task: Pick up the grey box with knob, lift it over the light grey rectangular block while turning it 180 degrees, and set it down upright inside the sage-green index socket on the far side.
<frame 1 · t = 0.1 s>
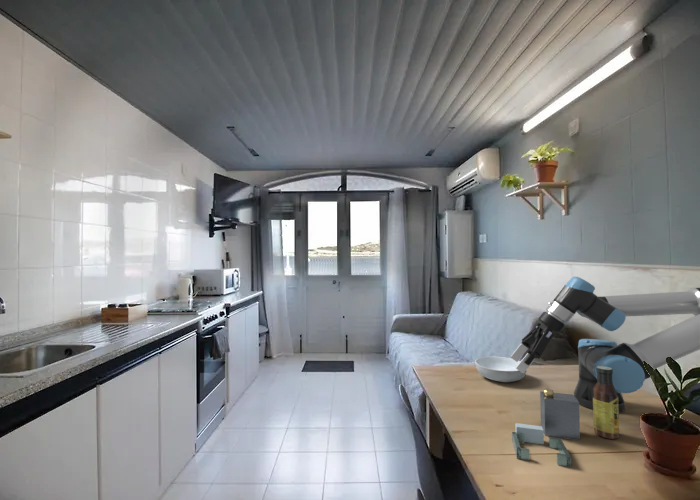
hand: (516, 364, 123), 15 cm above the table, tool tilted 35°, fingers open, 13 cm apart
light grey rectangular block: (529, 440, 101), on the table
serving bowl: (500, 379, 153), on the table
index socket: (539, 452, 95), on the table
sauce bottle: (606, 435, 104), on the table
grey box with knob: (559, 433, 106), on the table
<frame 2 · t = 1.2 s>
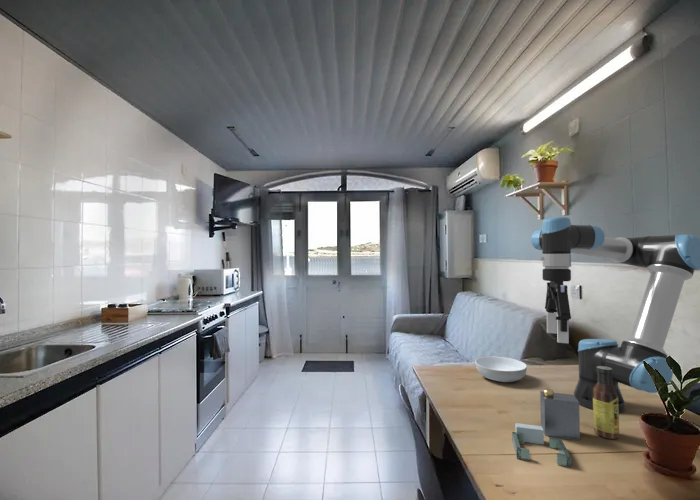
hand: (557, 337, 106), 29 cm above the table, tool pointing down, fingers open, 13 cm apart
nothing on the table moved.
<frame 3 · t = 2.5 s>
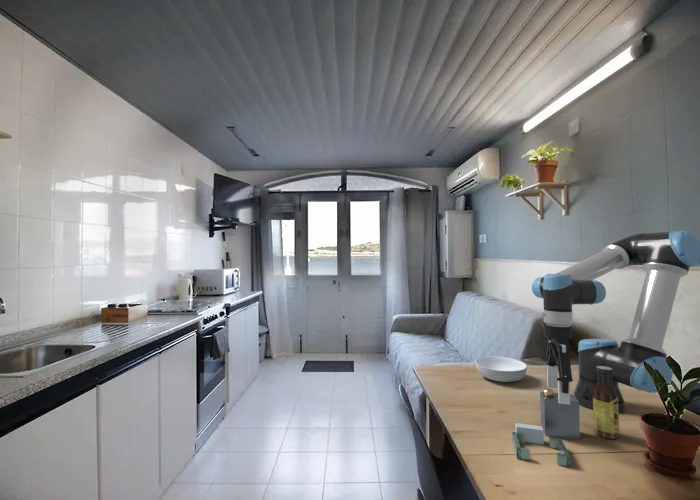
hand: (557, 394, 106), 11 cm above the table, tool pointing down, fingers open, 13 cm apart
nothing on the table moved.
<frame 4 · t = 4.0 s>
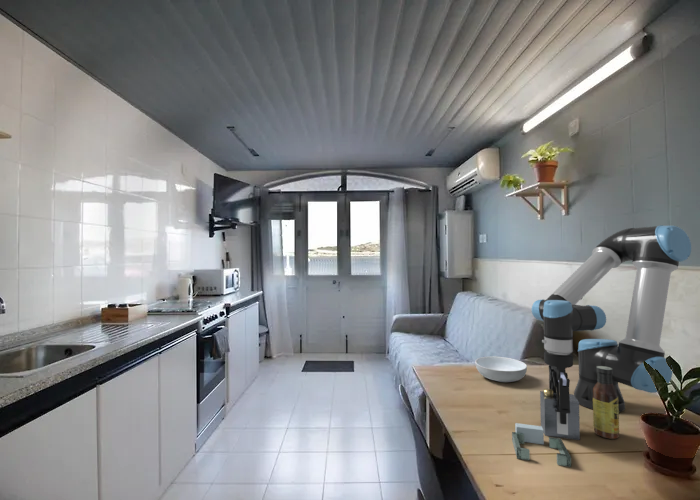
hand: (559, 428, 106), 1 cm above the table, tool pointing down, fingers closed on grey box with knob, 6 cm apart
grey box with knob: (559, 433, 106), on the table, touching gripper
everything else where it was.
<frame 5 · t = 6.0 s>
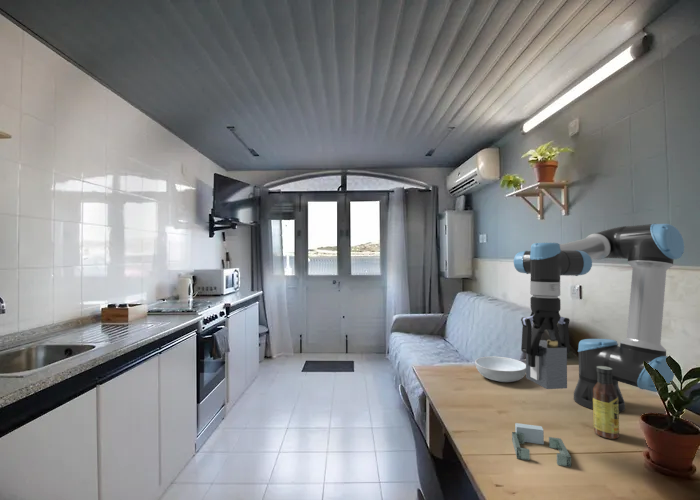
hand: (545, 377, 99), 19 cm above the table, tool pointing down, fingers closed on grey box with knob, 6 cm apart
grey box with knob: (545, 382, 99), point 17 cm above the table, touching gripper
everything else where it was.
when the fingers open (3 cm above the table, at t = 8.4 s): grey box with knob drops 1 cm, on the table.
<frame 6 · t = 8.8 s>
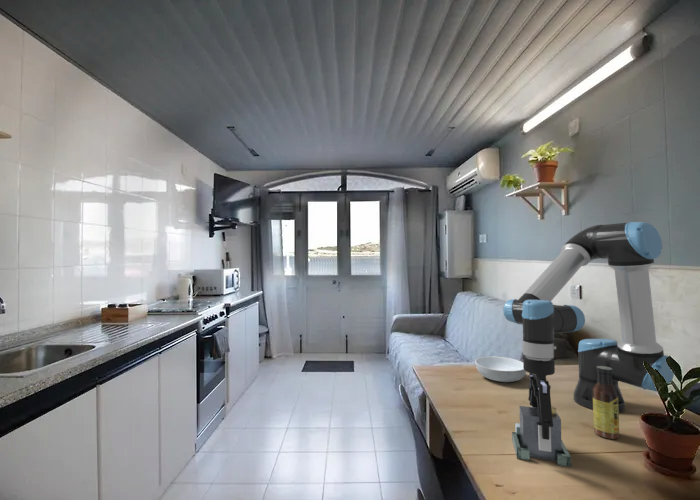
hand: (540, 440, 94), 4 cm above the table, tool pointing down, fingers open, 10 cm apart
grey box with knob: (539, 453, 95), on the table
everything else where it was.
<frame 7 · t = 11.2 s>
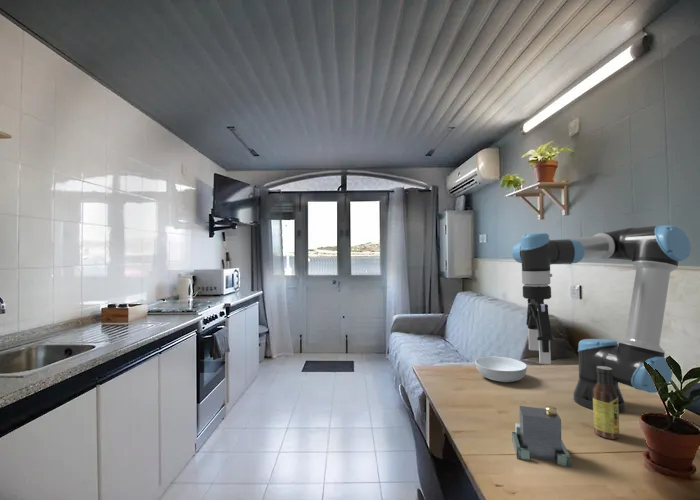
hand: (539, 356, 104), 24 cm above the table, tool pointing down, fingers open, 13 cm apart
nothing on the table moved.
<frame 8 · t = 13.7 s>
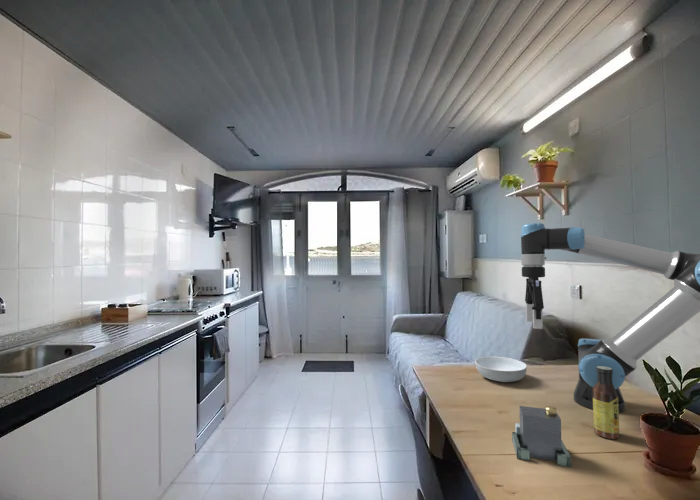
hand: (534, 324, 126), 29 cm above the table, tool pointing down, fingers open, 13 cm apart
nothing on the table moved.
at the end: grey box with knob 0.1 cm off-centre on the index socket, point 0.0 cm above the index socket's base; grey box with knob tilted 0°; the gripper is holding nothing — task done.
